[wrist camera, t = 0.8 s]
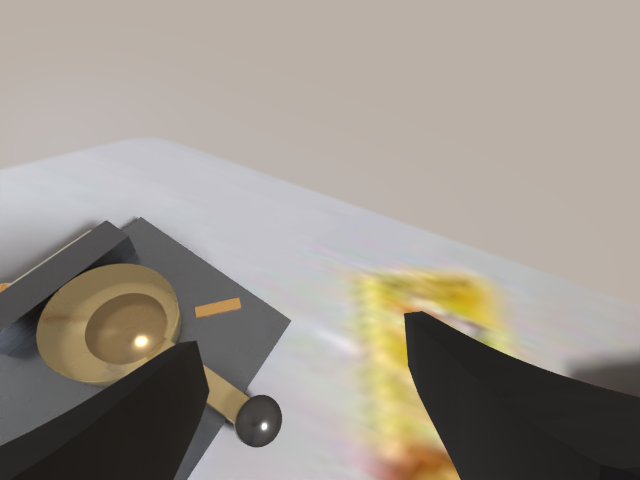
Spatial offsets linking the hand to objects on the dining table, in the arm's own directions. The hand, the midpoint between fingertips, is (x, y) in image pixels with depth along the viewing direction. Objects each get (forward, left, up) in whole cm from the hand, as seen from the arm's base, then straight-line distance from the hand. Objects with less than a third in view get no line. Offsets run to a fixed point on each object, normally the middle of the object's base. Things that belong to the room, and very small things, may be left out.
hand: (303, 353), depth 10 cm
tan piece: (-2, +6, -12) cm, 13 cm away
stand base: (-3, +8, -13) cm, 16 cm away
